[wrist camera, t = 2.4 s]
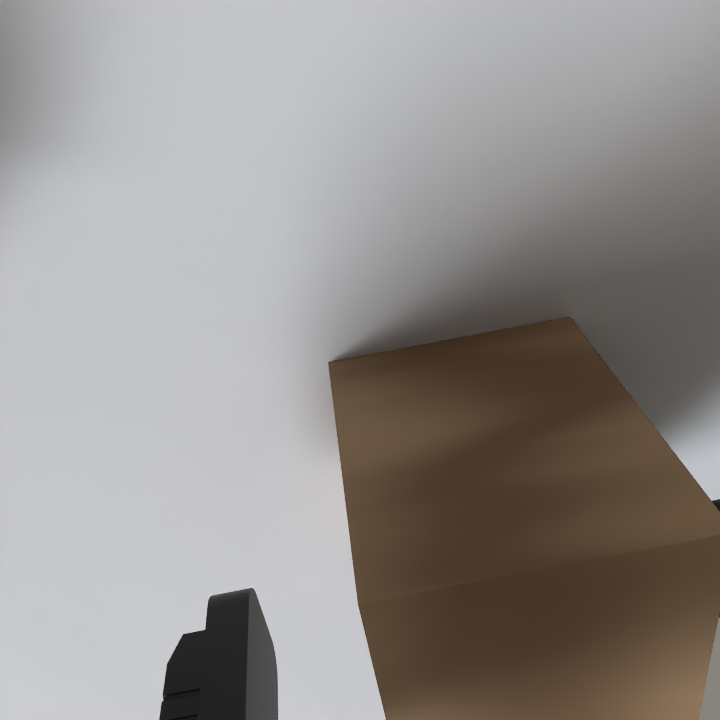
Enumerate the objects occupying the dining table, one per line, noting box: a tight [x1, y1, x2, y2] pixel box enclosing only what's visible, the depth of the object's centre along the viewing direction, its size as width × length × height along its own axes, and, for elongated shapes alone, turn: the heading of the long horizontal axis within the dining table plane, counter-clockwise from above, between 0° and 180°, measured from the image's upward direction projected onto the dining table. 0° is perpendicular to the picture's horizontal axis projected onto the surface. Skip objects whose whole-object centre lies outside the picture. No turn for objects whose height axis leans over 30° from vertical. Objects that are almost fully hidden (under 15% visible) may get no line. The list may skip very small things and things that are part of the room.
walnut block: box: [328, 317, 720, 720], centre depth 13 cm, size 5×5×6 cm
